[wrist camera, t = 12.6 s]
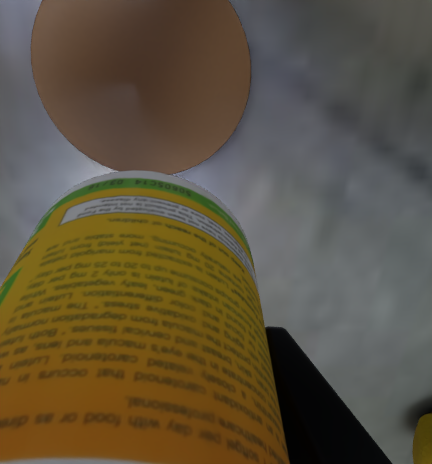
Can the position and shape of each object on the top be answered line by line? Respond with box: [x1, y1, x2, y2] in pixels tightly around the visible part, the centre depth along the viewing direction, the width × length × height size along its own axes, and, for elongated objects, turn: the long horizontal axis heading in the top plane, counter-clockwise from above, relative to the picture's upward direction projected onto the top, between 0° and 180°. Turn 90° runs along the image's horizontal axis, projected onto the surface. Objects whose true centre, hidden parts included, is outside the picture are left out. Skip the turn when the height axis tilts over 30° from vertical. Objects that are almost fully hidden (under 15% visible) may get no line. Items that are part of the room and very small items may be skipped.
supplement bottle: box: [0, 170, 290, 464], centre depth 6 cm, size 5×5×10 cm
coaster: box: [31, 0, 251, 175], centre depth 17 cm, size 9×9×1 cm
